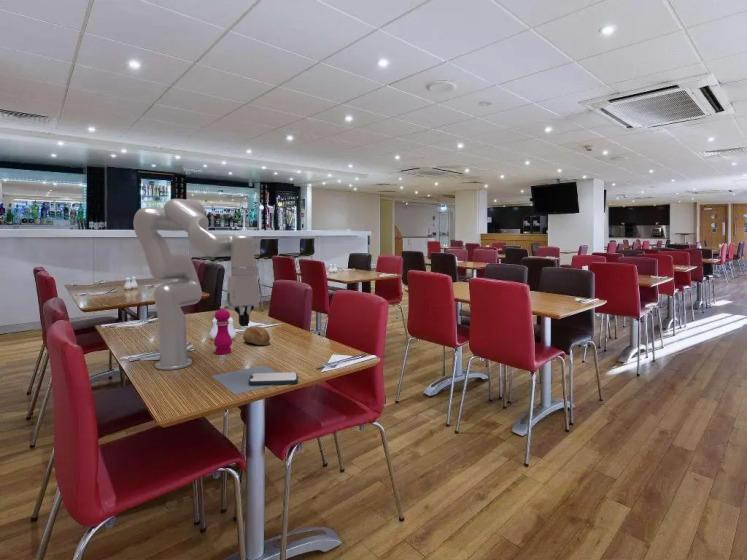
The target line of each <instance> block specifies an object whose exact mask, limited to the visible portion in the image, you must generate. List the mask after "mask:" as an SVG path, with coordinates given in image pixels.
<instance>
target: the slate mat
mask: <svg viewBox="0 0 747 560" xmlns="http://www.w3.org/2000/svg"><path fill="white" fill-rule="evenodd" d="M253 373H278V372H276V371H275V370H274V369H272V368H270V367H268V366H266V365H260V366H254V367H250V368H245V369H244V368H243V369H238V370H233V371H229V372H223V373H220V374H214V375H211V377H212V378H213V379H214V380H215V381H217V383H219V384H221V386H223V387H224V388H226V390H228V391H229V392H231V393H232V394H233V395H238V394H243V393H248V392H252V391H256V389H257V390H261V389H264V388H270V387H273V386H277V385H278V386H279V384H273V385H249V378H250V376H251V374H253Z"/></svg>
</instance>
